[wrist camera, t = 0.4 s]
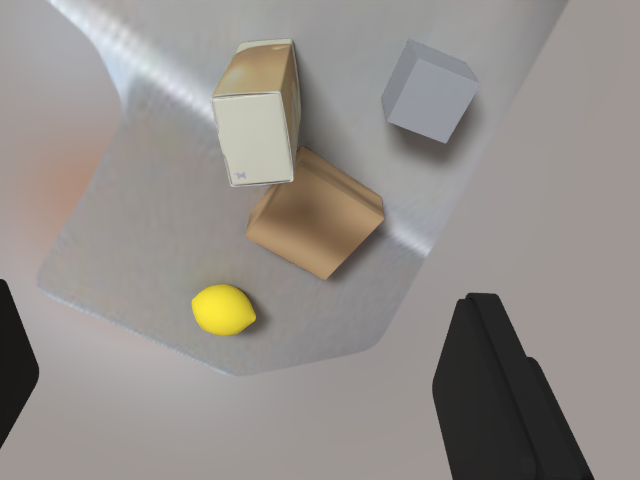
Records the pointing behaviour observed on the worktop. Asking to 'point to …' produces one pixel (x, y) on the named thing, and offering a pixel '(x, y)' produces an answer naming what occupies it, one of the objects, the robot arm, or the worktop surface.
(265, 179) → the skincare box
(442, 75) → the grey block
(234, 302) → the lemon
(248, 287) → the worktop surface
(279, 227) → the oak block
